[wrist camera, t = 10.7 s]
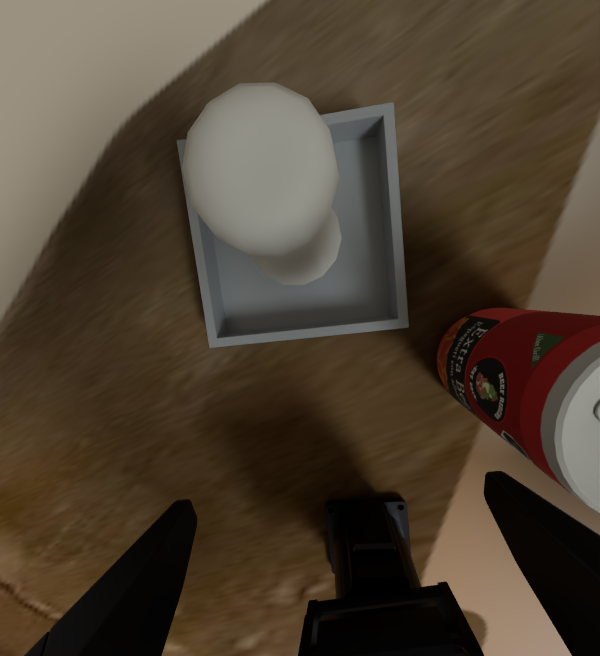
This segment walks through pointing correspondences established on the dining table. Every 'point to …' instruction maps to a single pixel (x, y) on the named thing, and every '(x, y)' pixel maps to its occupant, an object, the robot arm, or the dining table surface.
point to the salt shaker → (266, 179)
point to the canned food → (533, 387)
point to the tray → (344, 274)
